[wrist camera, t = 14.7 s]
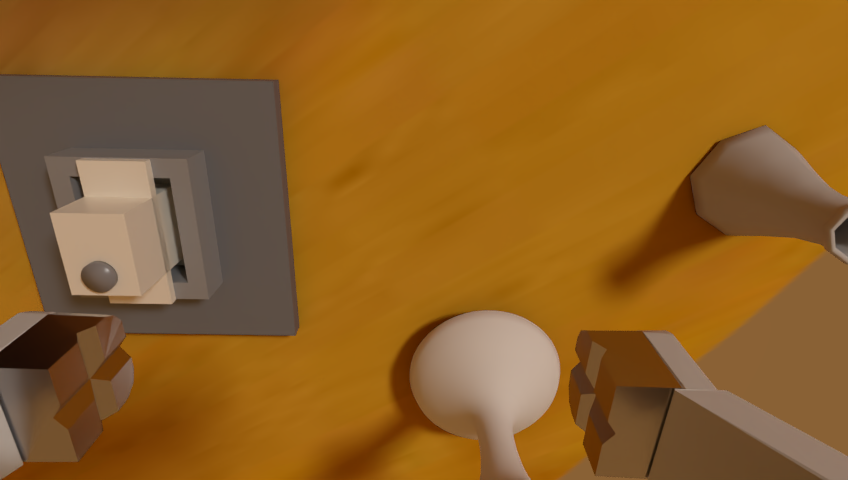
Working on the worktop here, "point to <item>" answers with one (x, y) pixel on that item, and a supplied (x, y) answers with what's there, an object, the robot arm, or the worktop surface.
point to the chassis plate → (171, 164)
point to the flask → (769, 193)
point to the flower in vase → (486, 383)
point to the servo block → (120, 233)
